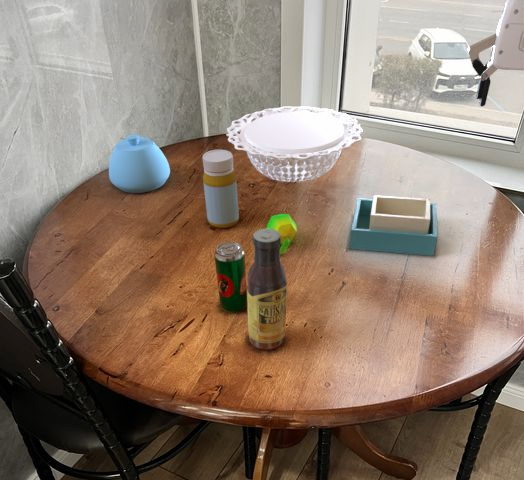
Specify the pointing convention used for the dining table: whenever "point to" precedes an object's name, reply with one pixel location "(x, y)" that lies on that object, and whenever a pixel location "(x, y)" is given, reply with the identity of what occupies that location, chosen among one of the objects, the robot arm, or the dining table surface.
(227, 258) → the soda can
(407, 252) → the bin
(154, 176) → the sugar bowl
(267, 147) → the white lattice bowl
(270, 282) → the sauce bottle
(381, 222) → the lone bin
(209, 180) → the bottle
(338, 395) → the dining table surface
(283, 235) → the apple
